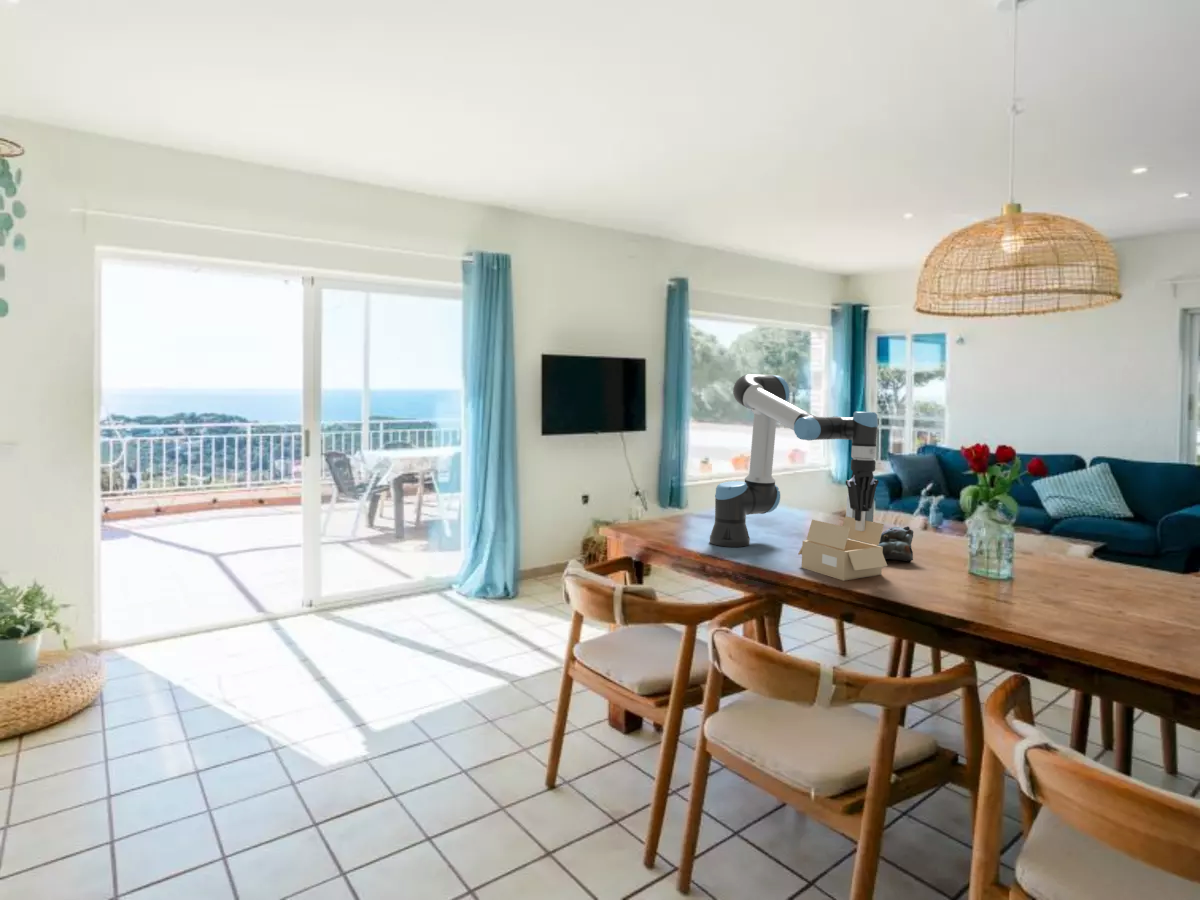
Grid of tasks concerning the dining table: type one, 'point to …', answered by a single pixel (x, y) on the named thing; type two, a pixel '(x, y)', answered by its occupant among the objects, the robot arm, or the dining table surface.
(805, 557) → the carton
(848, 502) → the hard drive box
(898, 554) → the dark grey backpack
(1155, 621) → the dining table surface
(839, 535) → the flap
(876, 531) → the flap
